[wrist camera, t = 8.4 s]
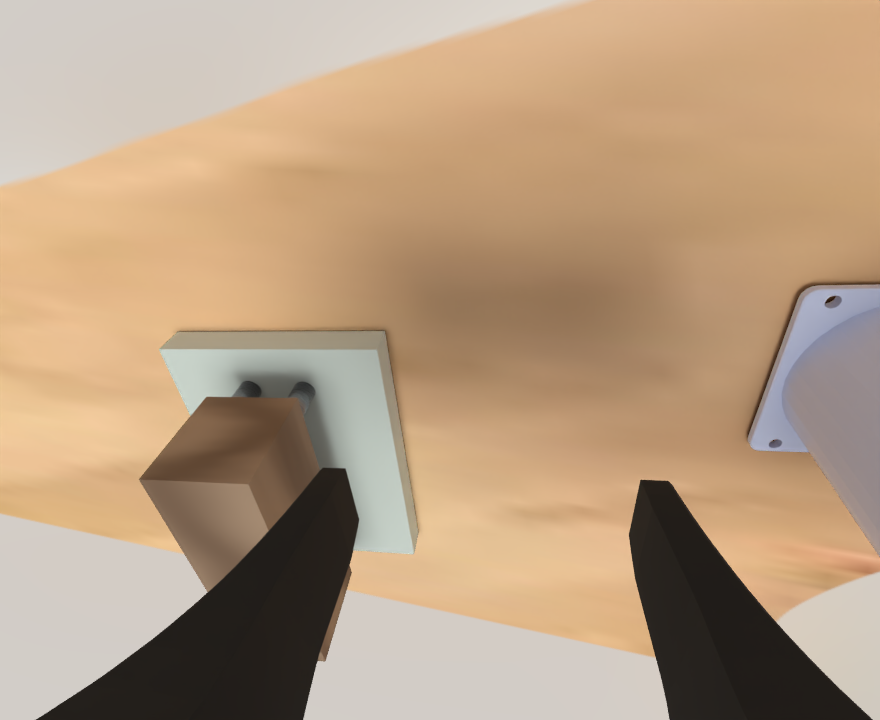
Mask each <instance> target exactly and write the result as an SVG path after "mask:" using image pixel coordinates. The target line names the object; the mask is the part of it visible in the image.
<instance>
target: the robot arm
mask: <svg viewBox="0 0 880 720" xmlns="http://www.w3.org/2000/svg"><path fill="white" fill-rule="evenodd" d="M835 295H836V297H835V299H834V300H833V301H831V302H829V303H825V301H826V300H827V299H828V298H830V297H831V296H835ZM775 439H777V440H775ZM772 440H775V441H772ZM770 441H772V442H770ZM748 442H749V444H750V446H751V448H753V449H754V450H758V451H786V452H810V454H811V455H812V457H813V458H814V460H815V461H816V463H817V464H818V466H819V467H820V469H821V470H822V472H823V473H824V475H825V476H826V478H827V479H828V481H829V482H830V484H831V485H832V487H833V488H834V490H835V491H836V493H837V494H838V496H839V497H840V499H841V500H842V502H843V503H844V505H845V506H846V508H847V509H848V511H849V512H850V514H851V515H852V517H853V518H854V520H855V521H856V523H857V524H858V526H859V527H860V529H861V530H862V532H863V533H864V535H865V536H866V538H867V539H868V541H869V542H870V543H871V545H872V546H873V548H874V549H875V551H876V552H877V554H878V555H879V557H880V284H876V285H818V286H812V287H810V288H807V289H806V290H804V291H803V292H802V293H801V294H800V296H799V298H798V300H797V303H796V306H795V309H794V311H793V314H792V317H791V320H790V322H789V325H788V328H787V331H786V334H785V336H784V339H783V342H782V345H781V347H780V350H779V353H778V356H777V358H776V361H775V364H774V367H773V369H772V372H771V375H770V378H769V381H768V383H767V386H766V389H765V392H764V394H763V397H762V400H761V403H760V405H759V408H758V411H757V414H756V416H755V419H754V422H753V425H752V427H751V430H750V433H749V436H748ZM358 524H359V517H358V513H357V509H356V506H355V502H354V498H353V494H352V491H351V487H350V483H349V479H348V476H347V472H346V468H322V469H321V470H320V471H319V472H318V473H317V474H316V476H315V477H314V478H313V479H312V480H311V482H310V483H309V484H308V485H307V487H306V488H305V489H304V490H303V491H302V493H301V494H300V495H299V496H298V497H297V499H296V500H295V501H294V502H293V503H292V505H291V506H290V507H289V508H288V509H287V510H286V512H285V513H284V514H283V515H282V516H281V517H280V518H279V520H278V521H277V522H276V523H275V524H274V525H273V526H272V528H271V529H270V530H269V531H268V532H267V533H266V534H265V535H264V537H263V538H262V539H261V540H260V541H259V542H258V543H257V544H256V545H255V546H254V547H253V548H252V549H251V550H250V551H249V552H248V553H247V554H246V556H245V557H244V558H243V559H242V560H241V561H240V562H239V563H238V564H237V565H236V566H235V567H234V568H233V569H232V570H231V571H230V572H229V573H228V574H227V575H226V576H225V577H224V578H223V579H222V580H221V581H220V582H219V583H217V584H216V585H215V586H214V587H213V588H212V589H211V590H210V591H209V592H208V593H207V594H206V595H204V596H203V597H202V598H201V599H200V600H199V601H198V602H197V603H196V604H194V605H193V606H192V607H191V608H190V609H188V610H187V611H186V612H185V613H184V614H183V615H181V616H180V617H179V618H178V619H177V620H175V621H174V622H173V623H172V624H171V625H170V626H168V627H167V628H166V629H165V630H163V631H162V632H161V633H160V634H159V635H157V636H156V637H155V638H153V639H152V640H151V641H150V642H148V643H147V644H145V645H144V646H143V647H141V648H140V649H139V650H138V651H136V652H135V653H134V654H132V655H131V656H130V657H128V658H127V659H125V660H124V661H123V662H121V663H120V664H119V665H117V666H116V667H115V668H113V669H112V670H110V671H109V672H108V673H106V674H105V675H103V676H102V677H101V678H99V679H98V680H96V681H95V682H93V683H92V684H90V685H89V686H87V687H86V688H84V689H83V690H81V691H80V692H78V693H77V694H75V695H73V696H72V697H71V698H69V699H67V700H66V701H64V702H63V703H61V704H60V705H58V706H57V707H55V708H54V709H52V710H51V711H49V712H48V713H46V714H44V715H43V716H41V717H39V718H38V719H36V720H303V717H304V713H305V709H306V705H307V701H308V696H309V692H310V688H311V684H312V680H313V676H314V672H315V667H316V664H317V660H318V657H319V654H320V650H321V647H322V644H323V641H324V638H325V635H326V632H327V629H328V626H329V623H330V621H331V618H332V615H333V612H334V609H335V606H336V603H337V600H338V597H339V594H340V591H341V588H342V585H343V582H344V579H345V576H346V573H347V570H348V567H349V564H350V561H351V557H352V553H353V548H354V544H355V539H356V534H357V529H358ZM629 539H630V546H631V554H632V561H633V567H634V574H635V579H636V583H637V587H638V591H639V595H640V599H641V603H642V607H643V611H644V614H645V618H646V622H647V626H648V630H649V633H650V637H651V641H652V645H653V649H654V652H655V656H656V660H657V664H658V667H659V671H660V674H661V679H662V683H663V688H664V692H665V697H666V701H667V707H668V713H669V719H670V720H872V719H871V718H870V717H869V716H868V715H867V714H866V713H865V712H864V711H863V710H862V709H861V708H860V707H858V706H857V705H856V704H855V703H854V702H853V701H852V700H851V699H850V698H849V697H848V696H847V695H846V694H845V693H844V692H842V691H841V690H840V689H839V688H838V687H837V686H836V685H835V684H834V683H833V682H832V681H831V680H830V679H829V678H828V677H827V676H826V675H825V674H824V673H823V672H822V671H821V669H819V667H817V666H816V664H815V663H814V662H813V661H812V660H811V659H810V658H809V657H808V656H807V655H806V654H805V653H804V652H803V651H802V650H801V649H800V648H799V647H798V646H797V645H796V643H795V642H794V641H793V640H792V639H791V638H790V637H789V636H788V635H787V634H786V633H785V632H784V631H783V629H782V628H781V627H780V626H779V625H778V624H777V623H776V622H775V620H774V619H773V618H772V617H771V616H770V615H769V614H768V612H767V611H766V610H765V609H764V608H763V607H762V605H761V604H760V603H759V602H758V601H757V599H756V598H755V597H754V596H753V595H752V593H751V592H750V591H749V590H748V589H747V587H746V586H745V585H744V584H743V583H742V581H741V580H740V579H739V578H738V576H737V575H736V574H735V573H734V571H733V570H732V569H731V567H730V566H729V565H728V563H727V562H726V561H725V559H724V558H723V557H722V556H721V554H720V553H719V552H718V550H717V549H716V548H715V546H714V545H713V544H712V542H711V541H710V540H709V538H708V537H707V535H706V534H705V533H704V531H703V530H702V528H701V527H700V526H699V524H698V523H697V521H696V520H695V519H694V517H693V516H692V514H691V513H690V511H689V510H688V508H687V507H686V505H685V504H684V502H683V501H682V499H681V498H680V496H679V495H678V493H677V492H676V490H675V488H674V487H673V485H672V484H671V483H670V482H669V481H655V480H640V485H639V490H638V494H637V499H636V504H635V509H634V513H633V518H632V523H631V528H630V532H629Z"/></svg>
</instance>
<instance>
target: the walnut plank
mask: <svg viewBox="0 0 880 720" xmlns="http://www.w3.org/2000/svg"><path fill="white" fill-rule="evenodd" d="M319 471H320V469H319V465H318V462H317V459H316V456H315V452H314V449H313V446H312V443H311V439H310V436H309V433H308V430H307V426H306V423H305V420H304V417H303V413H302V410H301V407H300V404H299V400H298V398H257V397H206V398H205V399H204V400H203V401H202V403H201V404H200V405H199V406H198V408H197V409H196V410H195V411H194V413H193V414H192V415H191V416H190V417H189V419H188V420H187V421H186V422H185V424H184V425H183V426H182V427H181V428H180V430H179V431H178V432H177V433H176V435H175V436H174V437H173V438H172V440H171V441H170V442H169V443H168V444H167V446H166V447H165V448H164V449H163V451H162V452H161V453H160V454H159V455H158V457H157V458H156V459H155V460H154V462H153V463H152V464H151V465H150V467H149V468H148V469H147V470H146V471H145V473H144V474H143V475H142V476H141V478H140V479H139V480H140V482H141V484H142V485H143V487H144V488H145V490H146V492H147V493H148V495H149V497H150V498H151V500H152V502H153V503H154V505H155V507H156V508H157V510H158V511H159V513H160V515H161V516H162V518H163V520H164V521H165V523H166V525H167V526H168V528H169V529H170V531H171V533H172V534H173V536H174V538H175V539H176V541H177V543H178V544H179V546H180V548H181V549H182V551H183V552H184V554H185V556H186V557H187V559H188V561H189V562H190V564H191V566H192V567H193V569H194V570H195V572H196V574H197V575H198V577H199V579H200V580H201V582H202V584H203V585H204V587H205V589H206V590H207V592H209V591H210V590H211V589H212V588H213V587H214V586H215V585H216V584H217V583H219V582H220V581H221V580H222V579H223V578H224V577H225V576H226V575H227V574H228V573H229V572H230V571H231V570H232V569H233V568H234V567H235V566H236V565H237V564H238V563H239V562H240V561H241V560H242V559H243V558H244V557H245V556H246V554H247V553H248V552H249V551H250V550H251V549H252V548H253V547H254V546H255V545H256V544H257V543H258V542H259V541H260V540H261V539H262V538H263V537H264V535H265V534H266V533H267V532H268V531H269V530H270V529H271V528H272V526H273V525H274V524H275V523H276V522H277V521H278V520H279V518H280V517H281V516H282V515H283V514H284V513H285V512H286V510H287V509H288V508H289V507H290V506H291V505H292V503H293V502H294V501H295V500H296V499H297V497H298V496H299V495H300V494H301V493H302V491H303V490H304V489H305V488H306V487H307V485H308V484H309V483H310V482H311V480H312V479H313V478H314V477H315V476H316V474H317V473H318V472H319ZM351 573H352V572H351V569H350V566H349V567H348V570H347V573H346V576H345V579H344V582H343V585H342V588H341V591H340V594H339V597H338V600H337V603H336V606H335V609H334V612H333V615H332V618H331V621H330V623H329V626H328V629H327V632H326V635H325V638H324V641H323V644H322V647H321V650H320V654H319V657H318V660H317V661H326V657H327V654H328V651H329V647H330V643H331V640H332V637H333V634H334V630H335V627H336V624H337V620H338V617H339V613H340V610H341V607H342V603H343V600H344V597H345V593H346V590H347V587H348V583H349V580H350V576H351Z"/></svg>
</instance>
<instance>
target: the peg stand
mask: <svg viewBox="0 0 880 720" xmlns="http://www.w3.org/2000/svg"><path fill="white" fill-rule="evenodd" d="M159 351H160V353H161V355H162V357H163V359H164V361H165V363H166V365H167V367H168V370H169V372H170V374H171V376H172V378H173V380H174V382H175V384H176V386H177V388H178V391H179V393H180V395H181V397H182V399H183V401H184V403H185V405H186V407H187V409H188V412H189V414H190V416H191V415H192V414H193V413H194V411H195V410H196V409H197V408H198V406H199V405H200V404H201V403H202V401H203V400H204V399H205V398H206V397H257V398H298V400H299V404H300V407H301V410H302V413H303V417H304V420H305V423H306V426H307V430H308V433H309V436H310V439H311V443H312V446H313V449H314V452H315V456H316V459H317V462H318V465H319V469H320V470H321V469H322V468H346V472H347V476H348V479H349V483H350V487H351V491H352V494H353V498H354V502H355V506H356V509H357V513H358V517H359V524H358V529H357V534H356V539H355V544H354V548H353V550H356V551H372V552H387V553H403V554H414V552H415V547H416V542H417V537H418V527H417V521H416V515H415V509H414V503H413V497H412V491H411V485H410V479H409V473H408V467H407V461H406V455H405V449H404V443H403V437H402V431H401V425H400V419H399V413H398V407H397V401H396V395H395V389H394V383H393V377H392V371H391V365H390V359H389V353H388V347H387V341H386V335H385V331H246V332H177V333H176V334H175V335H174V336H173V337H172V338H170V339H169V340H168V341H167V342H166V343H165V344H164V345H163V346H162V347H161V348H160V349H159Z"/></svg>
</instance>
